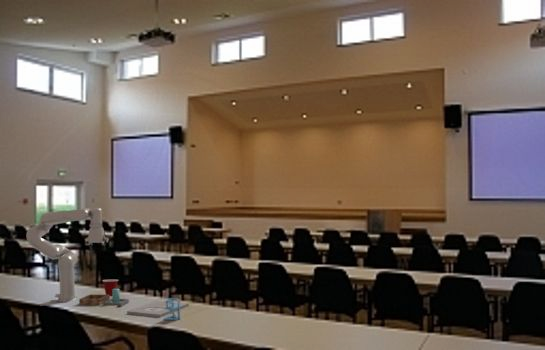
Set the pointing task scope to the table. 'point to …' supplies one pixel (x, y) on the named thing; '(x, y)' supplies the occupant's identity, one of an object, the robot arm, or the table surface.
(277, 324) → the table surface
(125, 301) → the tray
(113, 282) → the plastic cup
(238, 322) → the table surface
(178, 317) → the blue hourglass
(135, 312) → the award plaque
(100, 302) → the walnut box
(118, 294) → the peg
